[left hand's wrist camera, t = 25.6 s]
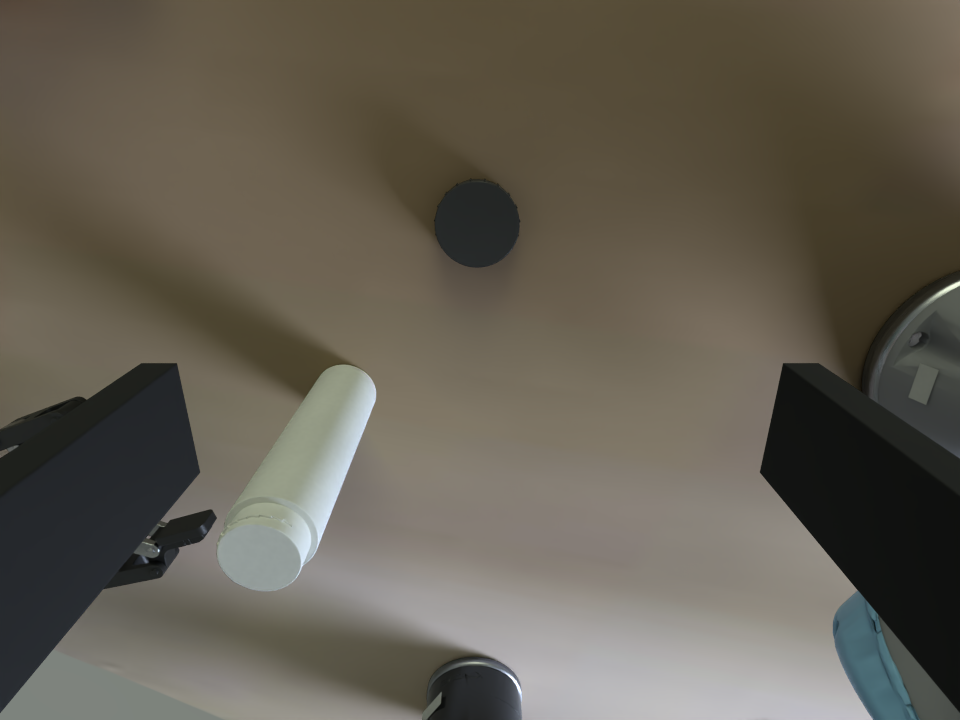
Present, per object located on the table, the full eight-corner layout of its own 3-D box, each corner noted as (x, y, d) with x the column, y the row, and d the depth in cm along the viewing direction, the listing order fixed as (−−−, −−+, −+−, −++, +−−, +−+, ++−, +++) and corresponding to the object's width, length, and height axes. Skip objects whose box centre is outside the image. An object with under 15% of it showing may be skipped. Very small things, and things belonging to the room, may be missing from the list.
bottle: (338, 352, 44) (243, 500, 26) (388, 389, 45) (328, 554, 27) (303, 395, 45) (190, 562, 27) (352, 429, 46) (273, 612, 28)
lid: (447, 270, 41) (446, 277, 39) (426, 189, 39) (423, 192, 37) (525, 252, 41) (528, 257, 39) (508, 169, 39) (509, 170, 37)
